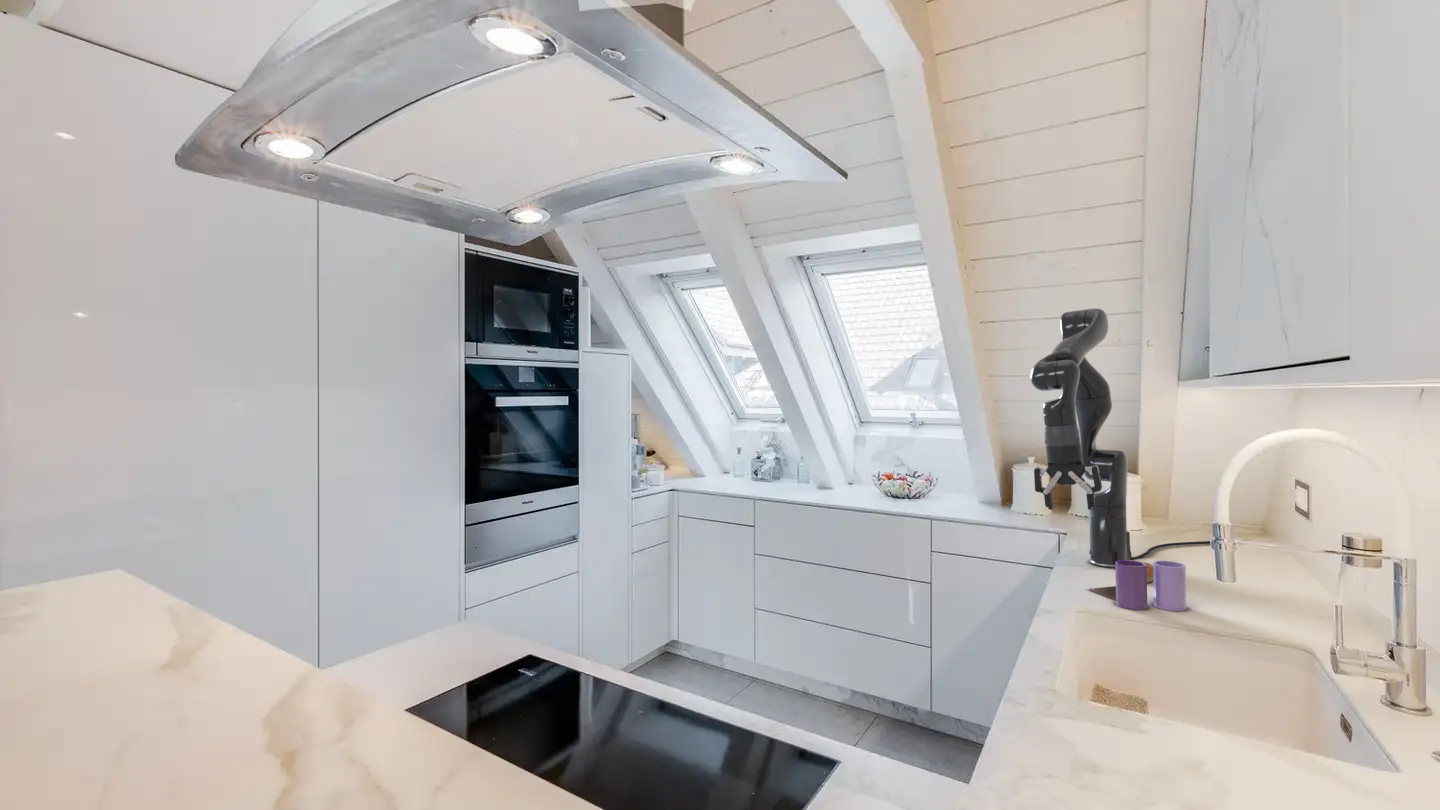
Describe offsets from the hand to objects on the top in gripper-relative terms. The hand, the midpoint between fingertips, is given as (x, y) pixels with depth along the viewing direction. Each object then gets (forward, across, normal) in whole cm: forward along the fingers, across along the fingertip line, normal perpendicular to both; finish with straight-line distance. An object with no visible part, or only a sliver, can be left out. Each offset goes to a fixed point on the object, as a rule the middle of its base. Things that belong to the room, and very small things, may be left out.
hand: (1070, 509), depth 158 cm
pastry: (+25, -12, -27) cm, 38 cm away
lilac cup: (+24, -18, -4) cm, 30 cm away
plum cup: (+23, -10, -1) cm, 25 cm away
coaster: (+23, -7, -9) cm, 26 cm away
